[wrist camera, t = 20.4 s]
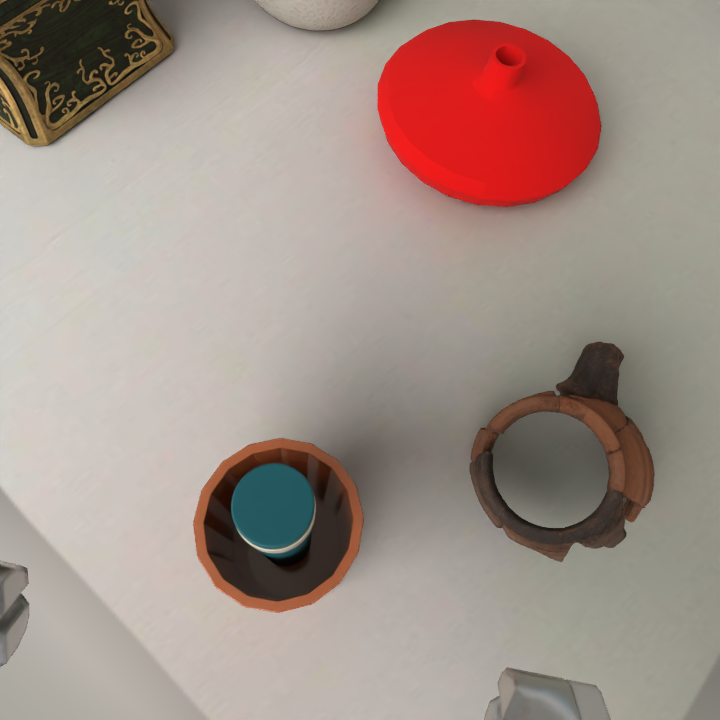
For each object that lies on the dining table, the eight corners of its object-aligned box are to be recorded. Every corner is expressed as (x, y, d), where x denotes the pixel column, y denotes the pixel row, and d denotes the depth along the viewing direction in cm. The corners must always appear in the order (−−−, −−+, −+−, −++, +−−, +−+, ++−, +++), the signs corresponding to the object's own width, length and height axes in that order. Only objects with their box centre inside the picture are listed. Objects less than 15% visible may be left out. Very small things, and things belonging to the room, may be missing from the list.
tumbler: (357, 588, 31) (379, 586, 22) (237, 618, 30) (206, 631, 21) (332, 471, 34) (342, 425, 24) (218, 496, 32) (184, 457, 23)
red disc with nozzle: (488, 29, 48) (517, -60, 41) (625, 163, 44) (682, 88, 37) (329, 109, 43) (333, 23, 37) (466, 265, 39) (498, 200, 33)
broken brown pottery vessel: (635, 574, 33) (634, 592, 26) (475, 524, 38) (435, 527, 30) (675, 370, 35) (684, 333, 28) (516, 344, 39) (487, 307, 32)
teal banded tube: (316, 560, 31) (324, 537, 18) (265, 572, 31) (236, 558, 18) (306, 509, 32) (306, 453, 19) (256, 520, 32) (223, 471, 19)
